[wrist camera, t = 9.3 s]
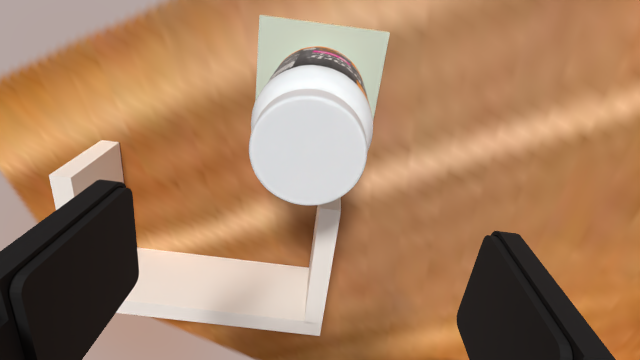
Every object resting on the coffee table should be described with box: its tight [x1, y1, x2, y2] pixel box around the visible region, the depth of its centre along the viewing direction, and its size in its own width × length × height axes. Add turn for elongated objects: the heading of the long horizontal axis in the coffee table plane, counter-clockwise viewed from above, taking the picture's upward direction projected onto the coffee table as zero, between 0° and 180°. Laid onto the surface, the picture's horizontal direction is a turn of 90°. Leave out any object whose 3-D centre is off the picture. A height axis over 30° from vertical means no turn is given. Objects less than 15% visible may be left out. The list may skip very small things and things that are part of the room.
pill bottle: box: [249, 46, 373, 206], centre depth 20 cm, size 6×6×10 cm
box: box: [49, 140, 341, 336], centre depth 27 cm, size 10×16×6 cm, turn 83°
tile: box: [255, 15, 390, 119], centre depth 24 cm, size 8×8×1 cm
